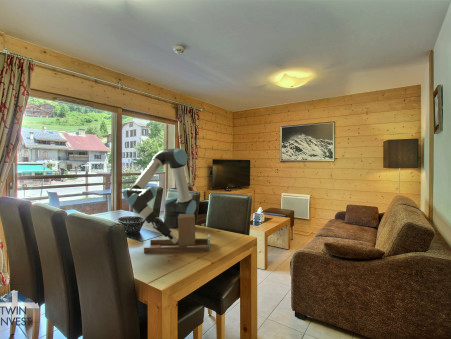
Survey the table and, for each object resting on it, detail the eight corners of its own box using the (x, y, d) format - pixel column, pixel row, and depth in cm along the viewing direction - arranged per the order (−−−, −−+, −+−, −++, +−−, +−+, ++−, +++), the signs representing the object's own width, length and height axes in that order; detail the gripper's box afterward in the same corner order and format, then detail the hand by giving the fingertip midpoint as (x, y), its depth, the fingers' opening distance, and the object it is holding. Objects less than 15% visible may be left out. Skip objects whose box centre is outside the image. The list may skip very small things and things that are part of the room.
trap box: (150, 244, 156) (150, 235, 156) (210, 243, 158) (210, 233, 157) (143, 253, 141) (143, 243, 141) (209, 251, 143) (209, 241, 142)
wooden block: (195, 249, 146) (195, 216, 146) (178, 250, 145) (178, 217, 144) (195, 244, 156) (194, 213, 155) (179, 244, 155) (178, 213, 154)
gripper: (147, 216, 153) (174, 242, 154) (140, 221, 140) (170, 250, 141) (155, 208, 153) (182, 234, 154) (150, 212, 140) (179, 241, 141)
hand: (176, 241), depth 148 cm, fingers closed
